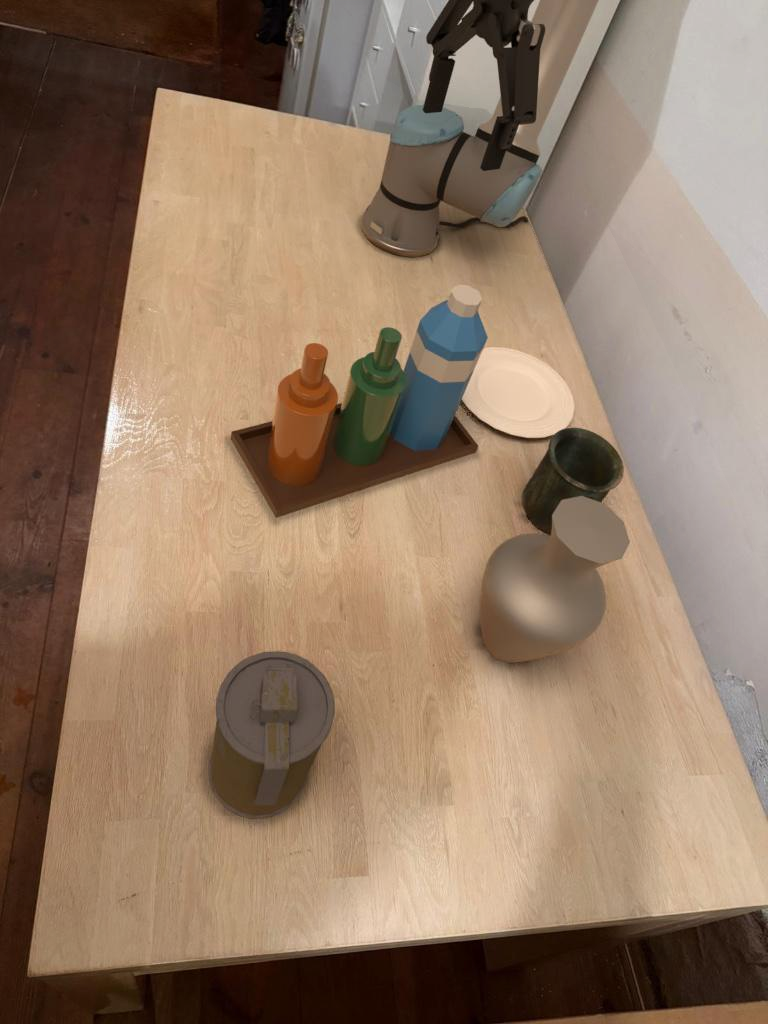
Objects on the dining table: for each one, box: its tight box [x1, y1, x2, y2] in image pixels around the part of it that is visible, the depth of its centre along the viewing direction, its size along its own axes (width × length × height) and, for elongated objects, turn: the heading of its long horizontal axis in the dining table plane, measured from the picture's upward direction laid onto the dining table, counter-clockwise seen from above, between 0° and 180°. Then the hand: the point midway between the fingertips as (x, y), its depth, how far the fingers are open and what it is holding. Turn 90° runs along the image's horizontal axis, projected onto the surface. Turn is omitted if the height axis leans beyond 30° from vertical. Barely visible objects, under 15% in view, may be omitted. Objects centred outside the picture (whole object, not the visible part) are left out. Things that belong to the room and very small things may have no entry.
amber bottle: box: [267, 342, 339, 486], centre depth 96 cm, size 8×8×21 cm
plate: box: [461, 346, 576, 439], centre depth 123 cm, size 21×21×2 cm
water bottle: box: [391, 284, 489, 451], centre depth 104 cm, size 9×9×25 cm
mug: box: [521, 427, 625, 535], centre depth 105 cm, size 11×15×12 cm
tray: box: [230, 402, 479, 518], centre depth 108 cm, size 34×15×2 cm, turn 121°
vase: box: [479, 496, 631, 664], centre depth 85 cm, size 14×14×25 cm
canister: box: [208, 650, 336, 820], centre depth 71 cm, size 11×10×20 cm
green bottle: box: [333, 326, 407, 466], centre depth 100 cm, size 8×8×21 cm
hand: (460, 139), depth 97 cm, fingers open, 13 cm apart
